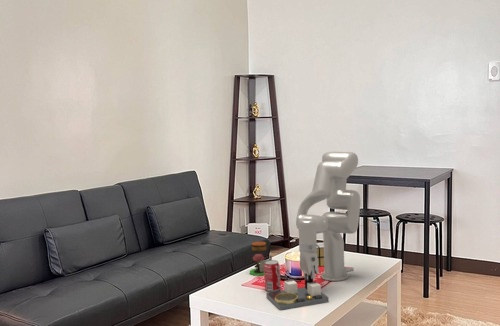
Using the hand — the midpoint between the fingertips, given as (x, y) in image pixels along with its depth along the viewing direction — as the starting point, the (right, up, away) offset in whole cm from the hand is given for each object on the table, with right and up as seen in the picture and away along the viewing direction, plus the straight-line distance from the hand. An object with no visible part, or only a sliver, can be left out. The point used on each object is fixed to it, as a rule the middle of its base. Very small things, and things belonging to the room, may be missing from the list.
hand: (309, 288), depth 238 cm
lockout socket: (-11, -3, -9) cm, 14 cm away
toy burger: (-21, 0, +35) cm, 41 cm away
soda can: (-15, -3, +9) cm, 18 cm away
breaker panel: (-6, -4, -4) cm, 8 cm away
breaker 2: (+2, -1, -5) cm, 5 cm away
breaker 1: (-8, -1, -1) cm, 8 cm away
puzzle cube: (+9, +2, +46) cm, 47 cm away
